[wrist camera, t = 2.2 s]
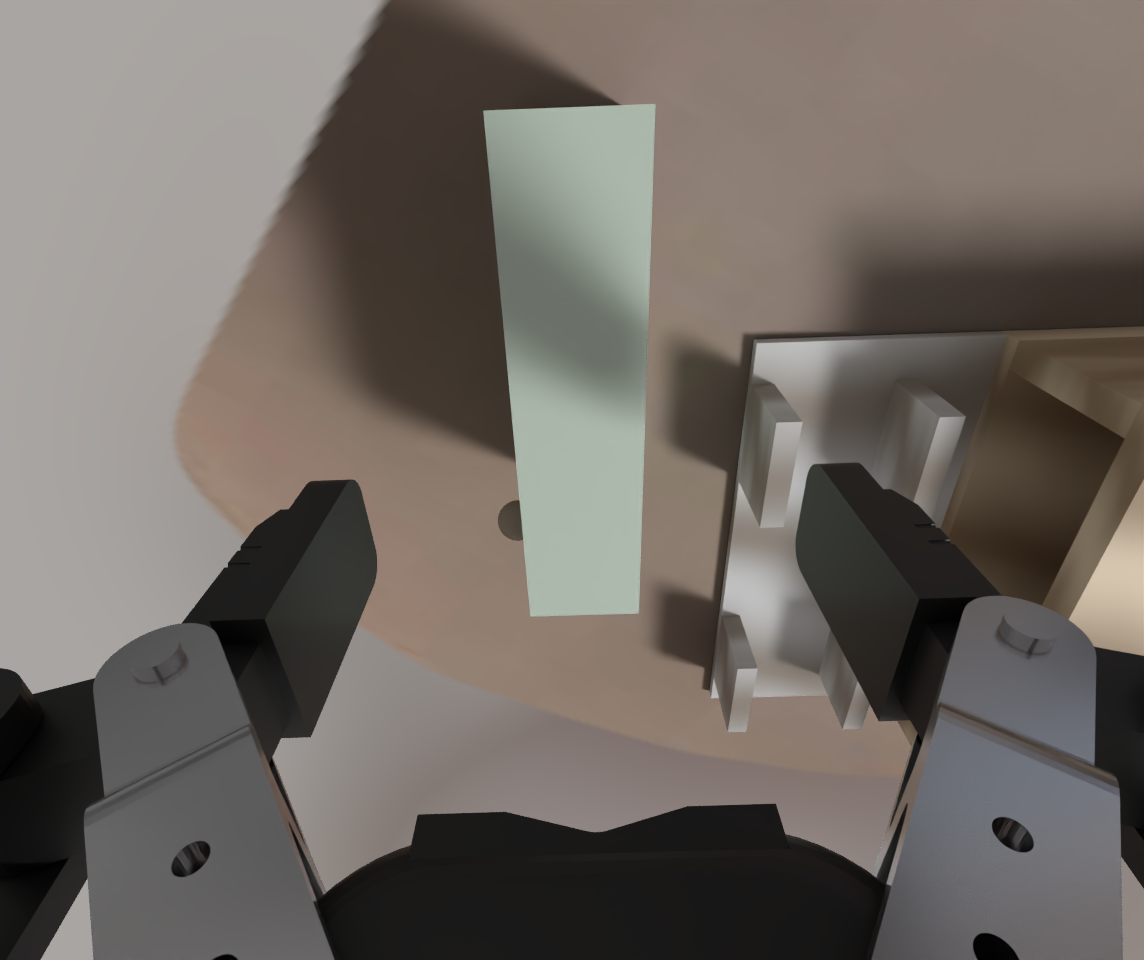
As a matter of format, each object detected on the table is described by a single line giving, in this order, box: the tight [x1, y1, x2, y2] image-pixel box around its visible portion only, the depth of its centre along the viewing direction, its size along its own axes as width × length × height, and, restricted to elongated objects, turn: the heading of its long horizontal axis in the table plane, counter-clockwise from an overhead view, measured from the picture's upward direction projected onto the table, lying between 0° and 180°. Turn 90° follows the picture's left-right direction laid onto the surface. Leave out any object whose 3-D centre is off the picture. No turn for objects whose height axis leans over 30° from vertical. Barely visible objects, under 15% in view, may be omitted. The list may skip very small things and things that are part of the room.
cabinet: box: [709, 326, 1144, 746], centre depth 22 cm, size 18×20×7 cm
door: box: [483, 104, 655, 616], centre depth 17 cm, size 12×4×8 cm, turn 2°
